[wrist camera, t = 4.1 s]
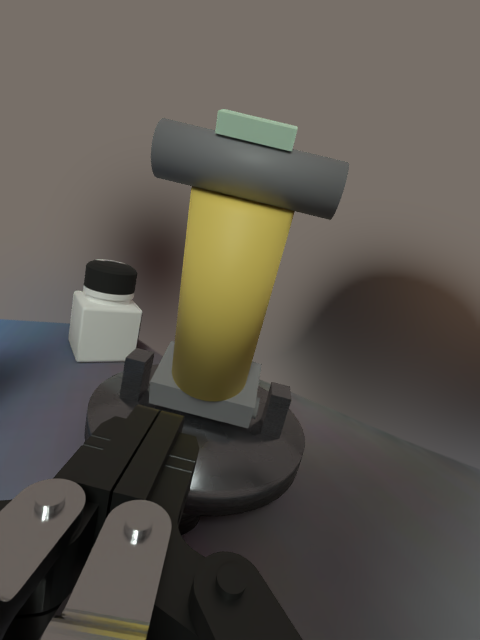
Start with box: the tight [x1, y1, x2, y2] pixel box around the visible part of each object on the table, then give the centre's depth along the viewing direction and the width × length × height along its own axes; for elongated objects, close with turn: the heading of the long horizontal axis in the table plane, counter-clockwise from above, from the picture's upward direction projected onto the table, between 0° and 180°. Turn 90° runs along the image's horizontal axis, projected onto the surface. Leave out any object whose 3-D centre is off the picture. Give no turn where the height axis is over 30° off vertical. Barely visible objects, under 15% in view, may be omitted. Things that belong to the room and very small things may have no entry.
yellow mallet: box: [149, 109, 349, 428], centre depth 24 cm, size 10×6×22 cm, turn 85°
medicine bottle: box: [69, 260, 142, 362], centre depth 46 cm, size 7×7×12 cm
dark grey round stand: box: [85, 348, 305, 535], centre depth 30 cm, size 18×18×8 cm
